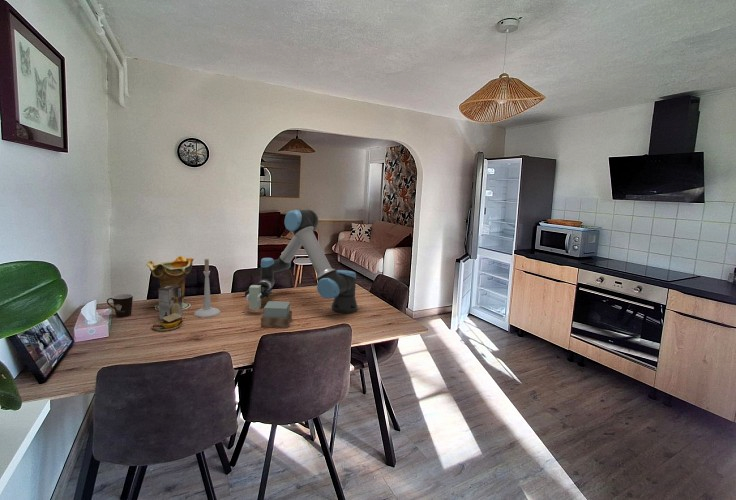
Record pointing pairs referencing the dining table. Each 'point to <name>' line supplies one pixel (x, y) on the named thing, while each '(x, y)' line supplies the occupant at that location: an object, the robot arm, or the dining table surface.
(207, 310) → the candlestick
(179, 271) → the decorative vase
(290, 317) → the walnut base block
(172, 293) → the coffee box
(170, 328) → the toy sandwich meal
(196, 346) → the dining table surface
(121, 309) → the coffee mug
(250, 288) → the sage pillar block
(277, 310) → the slate top block
